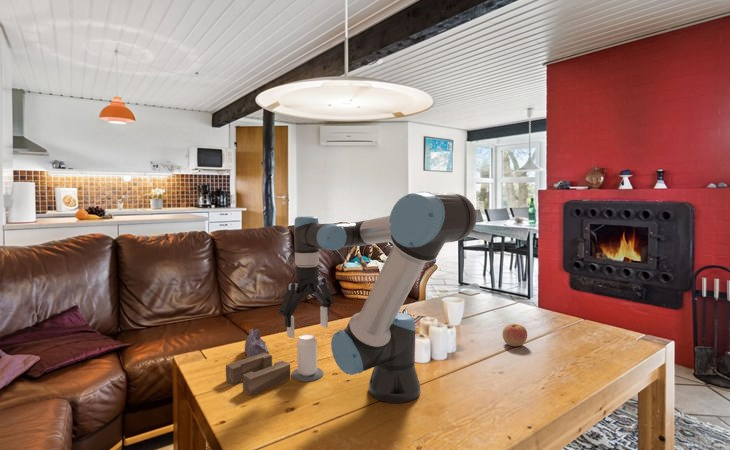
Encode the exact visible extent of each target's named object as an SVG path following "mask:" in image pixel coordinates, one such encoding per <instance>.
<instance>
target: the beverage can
mask: <svg viewBox="0 0 730 450" xmlns="http://www.w3.org/2000/svg"><path fill="white" fill-rule="evenodd" d="M296 343H297V344H296V346H297V347H296V348H297V350H296V351H297V352H296V353H297V357H296V358H297V363H296V364H297V369H298V373H299V374H301V375H302V376H311V375H313V374H314V373H316V371H317V368H318V341H317V339H316V336H315V335H314V334H311V333H305V334H301V335H299V338H298V340H297V342H296Z"/></svg>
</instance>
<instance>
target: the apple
mask: <svg viewBox="0 0 730 450" xmlns="http://www.w3.org/2000/svg"><path fill="white" fill-rule="evenodd" d="M502 339H503V341H504V343H506V344H507V345H508V346H509V347H519V346H520V347H521V346H522V345H524V344H525V343H526V342H527V339H528V331H527V329H526V328H525V326H523V325H520V324H518V323H511V324H510V323H509V324H508V325H505V326H504V328H503V330H502Z"/></svg>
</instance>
